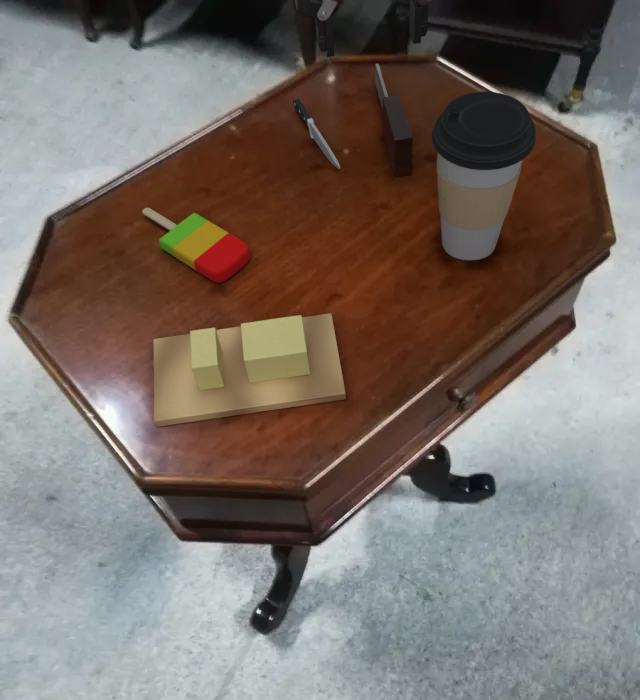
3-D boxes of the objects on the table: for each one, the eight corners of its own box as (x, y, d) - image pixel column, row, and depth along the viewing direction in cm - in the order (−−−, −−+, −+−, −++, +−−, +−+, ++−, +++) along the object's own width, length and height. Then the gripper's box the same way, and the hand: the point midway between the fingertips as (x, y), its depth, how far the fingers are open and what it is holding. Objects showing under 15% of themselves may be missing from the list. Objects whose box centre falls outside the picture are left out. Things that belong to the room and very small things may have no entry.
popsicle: (220, 288, 79) (217, 275, 77) (128, 229, 85) (123, 216, 83) (256, 258, 81) (253, 245, 79) (163, 202, 87) (159, 189, 85)
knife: (343, 178, 87) (342, 164, 85) (338, 180, 87) (336, 166, 85) (299, 110, 94) (297, 95, 93) (293, 111, 94) (292, 97, 93)
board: (332, 319, 75) (331, 312, 75) (346, 399, 70) (345, 393, 69) (155, 345, 75) (153, 338, 74) (156, 427, 70) (153, 421, 69)
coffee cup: (412, 224, 82) (417, 101, 69) (492, 202, 83) (511, 76, 70) (445, 283, 77) (457, 162, 64) (530, 259, 78) (558, 134, 65)
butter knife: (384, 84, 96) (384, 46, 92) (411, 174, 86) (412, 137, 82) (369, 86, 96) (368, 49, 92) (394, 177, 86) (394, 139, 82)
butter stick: (304, 338, 73) (301, 314, 70) (310, 374, 71) (307, 351, 68) (246, 346, 73) (240, 323, 70) (249, 383, 71) (243, 360, 68)
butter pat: (222, 350, 73) (215, 327, 70) (224, 387, 71) (217, 364, 68) (197, 353, 73) (189, 330, 70) (199, 390, 71) (191, 368, 68)
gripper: (287, -117, 57) (306, 79, 71) (469, -144, 58) (453, 56, 71) (276, -157, 61) (295, 36, 75) (446, -182, 62) (434, 14, 75)
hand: (372, 45), depth 73 cm, fingers open, 8 cm apart
